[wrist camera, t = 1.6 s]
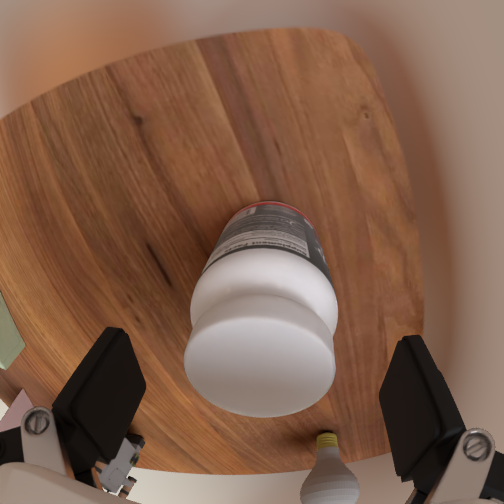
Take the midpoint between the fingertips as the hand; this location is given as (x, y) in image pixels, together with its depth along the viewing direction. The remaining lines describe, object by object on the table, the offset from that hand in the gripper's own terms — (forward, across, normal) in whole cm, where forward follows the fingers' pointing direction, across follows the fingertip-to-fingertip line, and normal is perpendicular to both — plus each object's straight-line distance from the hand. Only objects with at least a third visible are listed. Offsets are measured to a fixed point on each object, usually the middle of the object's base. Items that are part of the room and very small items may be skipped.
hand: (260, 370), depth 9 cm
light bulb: (+10, -6, +20) cm, 23 cm away
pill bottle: (+9, 0, -1) cm, 9 cm away
